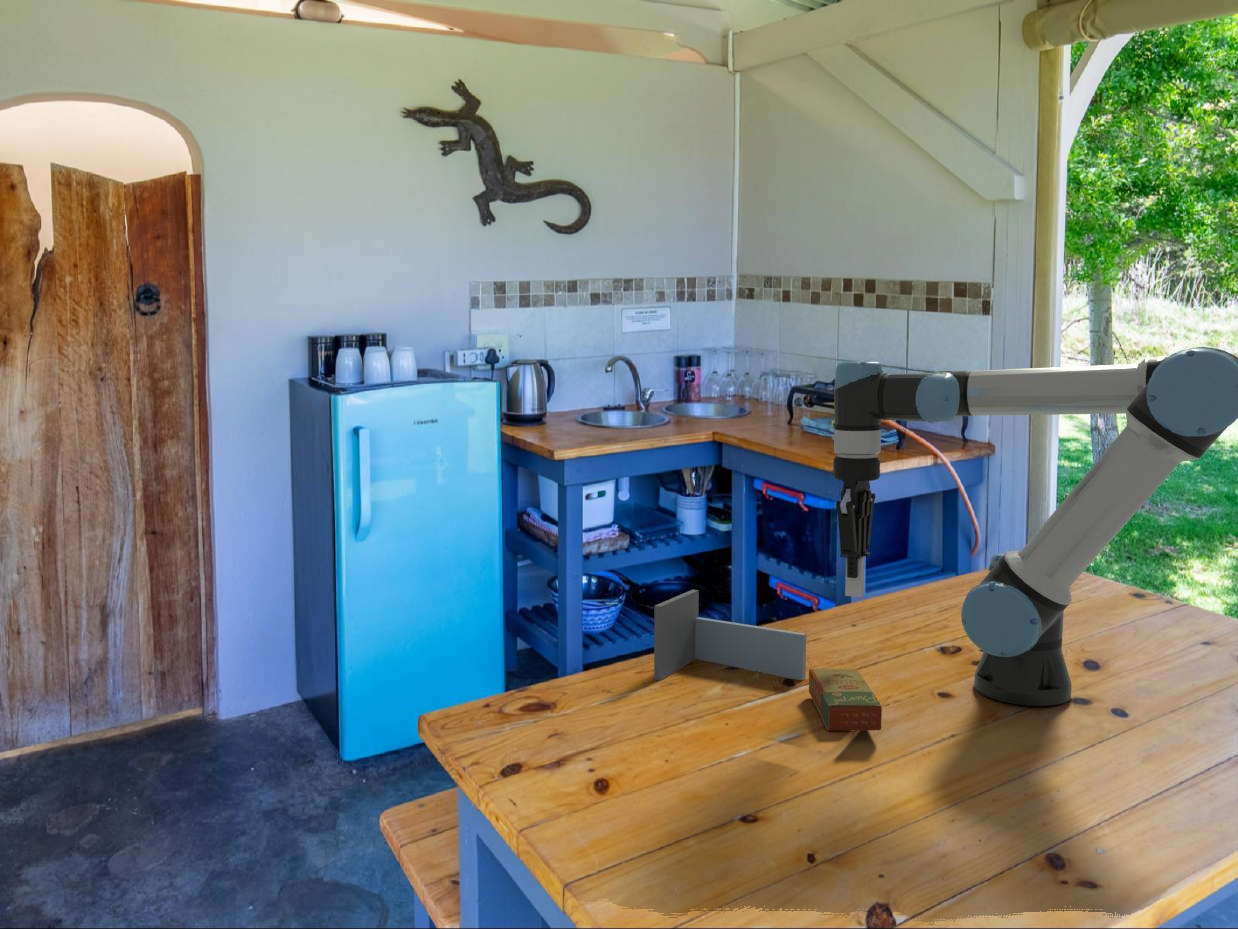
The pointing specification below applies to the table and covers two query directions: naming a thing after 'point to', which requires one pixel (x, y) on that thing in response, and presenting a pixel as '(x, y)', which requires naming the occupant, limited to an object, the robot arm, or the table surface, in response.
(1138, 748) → the table surface
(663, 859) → the table surface
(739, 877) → the table surface
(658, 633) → the grey perpendicular panels
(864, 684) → the carton
